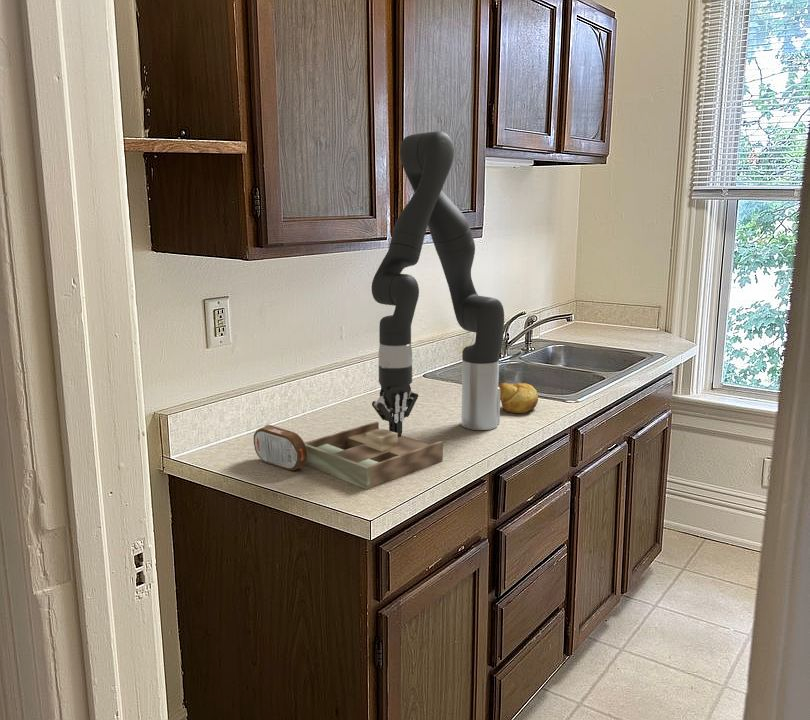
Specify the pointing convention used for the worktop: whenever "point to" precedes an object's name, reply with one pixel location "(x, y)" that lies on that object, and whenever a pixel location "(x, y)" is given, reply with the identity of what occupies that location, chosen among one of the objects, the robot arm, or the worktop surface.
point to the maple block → (381, 439)
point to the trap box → (369, 457)
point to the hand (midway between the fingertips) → (395, 436)
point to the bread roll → (518, 397)
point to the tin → (280, 447)
